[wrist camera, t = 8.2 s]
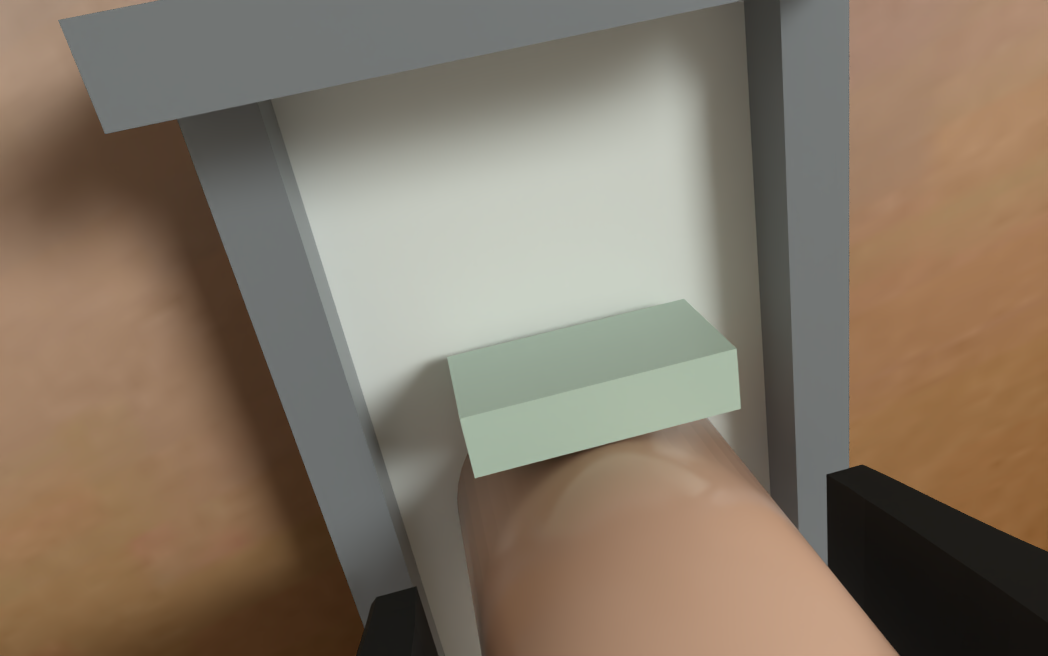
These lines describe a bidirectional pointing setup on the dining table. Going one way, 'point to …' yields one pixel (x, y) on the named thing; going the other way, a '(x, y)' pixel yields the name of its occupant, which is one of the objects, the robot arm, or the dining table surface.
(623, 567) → the terracotta jar
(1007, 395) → the dining table surface
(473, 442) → the plate
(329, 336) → the pusher lane
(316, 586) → the dining table surface
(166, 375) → the dining table surface
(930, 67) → the dining table surface
